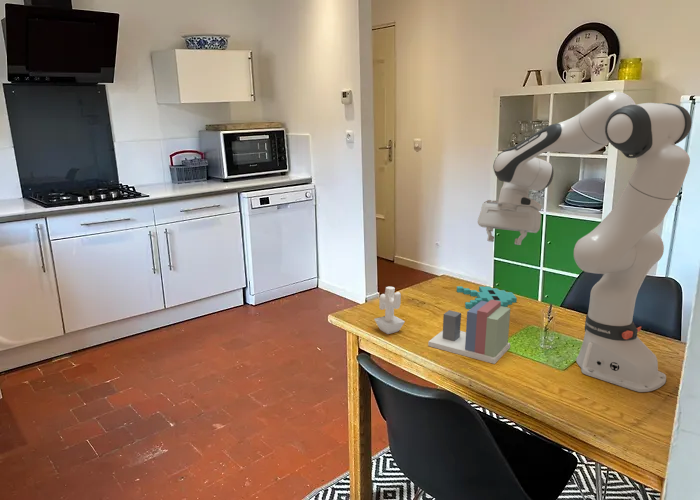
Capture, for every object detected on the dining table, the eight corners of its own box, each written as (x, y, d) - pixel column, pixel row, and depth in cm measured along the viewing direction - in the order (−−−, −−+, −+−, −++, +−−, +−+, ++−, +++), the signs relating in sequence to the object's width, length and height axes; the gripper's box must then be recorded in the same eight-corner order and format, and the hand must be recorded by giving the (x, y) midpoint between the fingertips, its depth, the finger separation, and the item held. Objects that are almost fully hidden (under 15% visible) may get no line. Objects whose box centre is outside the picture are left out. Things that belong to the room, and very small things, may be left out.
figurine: (389, 323, 180) (390, 281, 176) (406, 333, 172) (408, 289, 168) (372, 328, 176) (372, 285, 172) (388, 338, 168) (389, 293, 164)
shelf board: (510, 347, 161) (513, 302, 157) (494, 364, 151) (498, 316, 147) (446, 331, 173) (448, 289, 169) (428, 345, 163) (429, 301, 159)
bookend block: (459, 336, 165) (461, 312, 163) (454, 341, 162) (455, 317, 160) (448, 333, 168) (449, 310, 165) (442, 338, 164) (443, 314, 162)
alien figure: (466, 310, 193) (521, 310, 192) (466, 304, 192) (522, 304, 192) (456, 291, 212) (506, 291, 211) (456, 286, 211) (507, 286, 211)
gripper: (479, 197, 177) (470, 237, 176) (539, 200, 163) (529, 244, 162) (487, 202, 181) (479, 241, 180) (546, 206, 168) (537, 248, 167)
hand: (503, 242), depth 171 cm, fingers open, 8 cm apart
